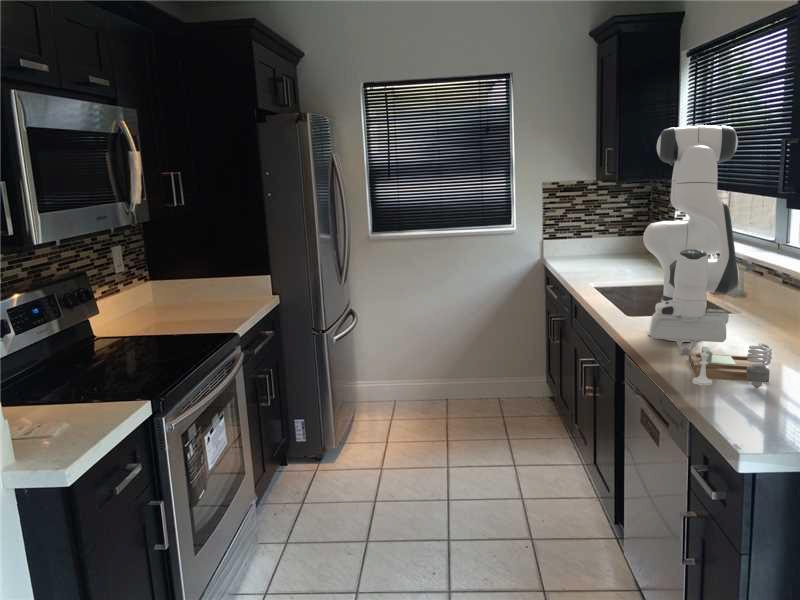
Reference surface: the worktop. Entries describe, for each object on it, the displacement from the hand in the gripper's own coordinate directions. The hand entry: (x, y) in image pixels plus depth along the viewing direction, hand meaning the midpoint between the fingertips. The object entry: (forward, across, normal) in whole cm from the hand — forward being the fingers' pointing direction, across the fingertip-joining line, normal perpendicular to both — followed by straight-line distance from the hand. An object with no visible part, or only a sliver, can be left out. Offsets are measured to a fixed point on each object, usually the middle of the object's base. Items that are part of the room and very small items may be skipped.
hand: (685, 354), depth 191 cm
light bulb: (+4, -16, +13) cm, 21 cm away
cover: (+2, -9, 0) cm, 9 cm away
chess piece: (+4, -3, +12) cm, 13 cm away
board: (+4, -11, 0) cm, 12 cm away
